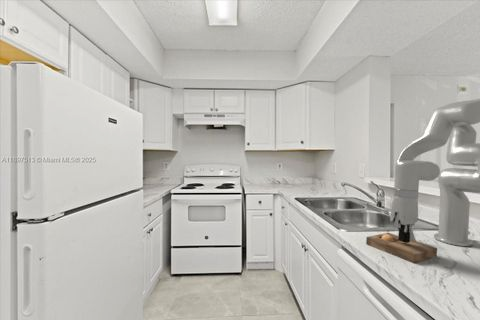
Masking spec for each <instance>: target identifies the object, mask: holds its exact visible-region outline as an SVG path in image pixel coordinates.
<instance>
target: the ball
mask: <svg viewBox="0 0 480 320" xmlns="http://www.w3.org/2000/svg"><path fill="white" fill-rule="evenodd" d="M381 239H384V240H387V241H389V242H394V239H393V237H392V236H390V235H387V234H386V235H383V236H382V238H381Z"/></svg>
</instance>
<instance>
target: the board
mask: <svg viewBox="0 0 480 320" xmlns="http://www.w3.org/2000/svg"><path fill="white" fill-rule="evenodd" d="M386 234H387V235H390V236H392V237H393V239H394V242H389V241H387V240H384V239H381V238H382V236H383V235H386ZM398 237H399V236H398V234H394V233H391V232H385V233H380V234H375V235H369V236H366V239H365V241H366V242H365V244H366V245H367V246H369V247H372V248H375V249H377V250H380V251H382V252H385V253H387V254H390V255H392V256H395V257H398V258H399V259H403V260H405V261H407V262H410V263H412V264H415V263H419V262H420V263H421V262H424V261H426V260H428V259H429V260H431V259H433V258H437V256H438V248H437V247H434V246H431V245H429V244H428V245H427V244H424V243H421V242H418V241H417V240H416V241H413V240H410V242H409V243H405V242H402V241H399V240H398Z"/></svg>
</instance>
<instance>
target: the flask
mask: <svg viewBox="0 0 480 320" xmlns="http://www.w3.org/2000/svg"><path fill="white" fill-rule="evenodd" d="M397 236H399V233H398V234H397ZM410 240H413V241H416V242H417V240H416V237H415V233H414V231H413V228H412V227H411V232H410Z"/></svg>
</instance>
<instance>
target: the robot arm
mask: <svg viewBox="0 0 480 320" xmlns="http://www.w3.org/2000/svg"><path fill="white" fill-rule="evenodd" d="M479 123H480V98H477V99H475V98H474V99H469V100H463V101H456V102H451V103H447V104H444V105H443V106H439V107H437V108H435V109H434V110H433V111H432V112H431V113H430V116H429V119H428V121H427V122H426V125H425V127H424V130H423V132H422V134H421V136H420V137H418V138H417V139H415V140H414V141H412V142H411V143H409V144H408V146H406V147H405V148H404V149H402V151H401V152H400V155H399V156H398V158H397V161H396V163H395V164H394V165H395V166H394V168H395V169H394V189H393V190H394V191H393V198H392V201H391V205H390V206H391V207H390V216H389V217H390V218H389V220H390V222H391V223H393V224H394V225H393V226H394V228H397V230H398V234H399V237H398V240H399V241H402V242H405V243H409V242H410V232H411V228H412V227H413V226H414V225H415V224H416V223H417V222H418V219H419V203H418V199H419V187H420V186H419V185H420V181H422V182H423V181H425V182H429V181H434V180H436V179H437V182H438V187H439V212H438V213H439V214H438V232H437V233H434V234H433V238H434V239H435V240H437V241H439V242H441V243H445V244H449V245H453V246H460V247H472V246H473V245H474V242H473V241H472V240H471V239H469V235H471V232H470V231H469V223H470V206H471V205H470V204H471V203H470V200H469V198H468V196H467V195H466V194H465V193H472V194H480V143H479V142H478V143H476V142H477V141H476V140H477V134H478V133H477V131H476V129H475V128H474V127H473V126H472V125H475V124H479ZM447 143H448V144H447ZM446 144H447V151H446V158H445V159H446V162H447V163H448V164H450V165H452V166H459V167H460V168H459V167H458V168H457V167H456V168H455V167H451V168H444V169H442V170H440V167H439V165H438V164H436V163H435V162H433V161H428V160H415V159H416V158H417V157H419V156H420V155H422V154H423V155H424V154H426V153H427V152H431V151H434V150H436V149H439V148H441V147H443V146H445V145H446ZM461 166H462V167H477V169H472V168H470V169H469V168H461Z"/></svg>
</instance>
